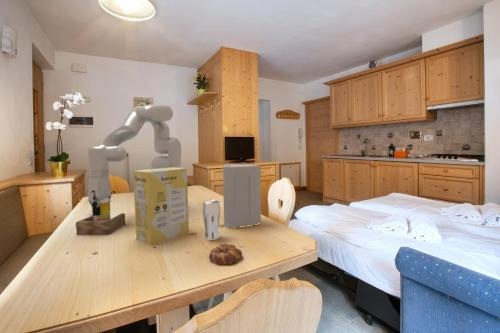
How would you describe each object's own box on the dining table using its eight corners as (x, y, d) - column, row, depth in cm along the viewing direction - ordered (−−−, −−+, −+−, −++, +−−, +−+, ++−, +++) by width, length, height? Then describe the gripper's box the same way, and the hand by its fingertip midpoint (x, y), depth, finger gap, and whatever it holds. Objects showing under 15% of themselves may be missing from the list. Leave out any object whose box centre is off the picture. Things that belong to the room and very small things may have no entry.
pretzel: (204, 254, 89) (204, 244, 89) (234, 249, 94) (234, 239, 93) (214, 269, 78) (213, 257, 78) (246, 262, 83) (246, 251, 82)
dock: (125, 224, 123) (124, 213, 123) (108, 234, 109) (108, 222, 109) (96, 224, 123) (96, 213, 123) (76, 234, 109) (75, 222, 109)
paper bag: (211, 224, 122) (209, 166, 119) (231, 217, 134) (230, 164, 131) (243, 232, 111) (242, 168, 108) (261, 223, 123) (261, 165, 120)
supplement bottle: (113, 219, 118) (112, 192, 117) (100, 223, 112) (98, 194, 111) (104, 218, 120) (102, 191, 119) (90, 222, 114) (88, 193, 113)
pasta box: (174, 227, 118) (171, 167, 116) (188, 231, 112) (186, 168, 109) (136, 239, 103) (133, 170, 101) (151, 245, 97) (147, 172, 95)
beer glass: (223, 235, 106) (222, 200, 105) (215, 242, 100) (214, 204, 98) (208, 234, 109) (207, 199, 107) (200, 240, 102) (199, 203, 101)
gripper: (102, 172, 123) (104, 208, 124) (77, 176, 106) (80, 218, 107) (118, 171, 123) (120, 208, 124) (95, 176, 105) (98, 218, 107)
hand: (101, 212), depth 116 cm, fingers closed on supplement bottle, 6 cm apart
